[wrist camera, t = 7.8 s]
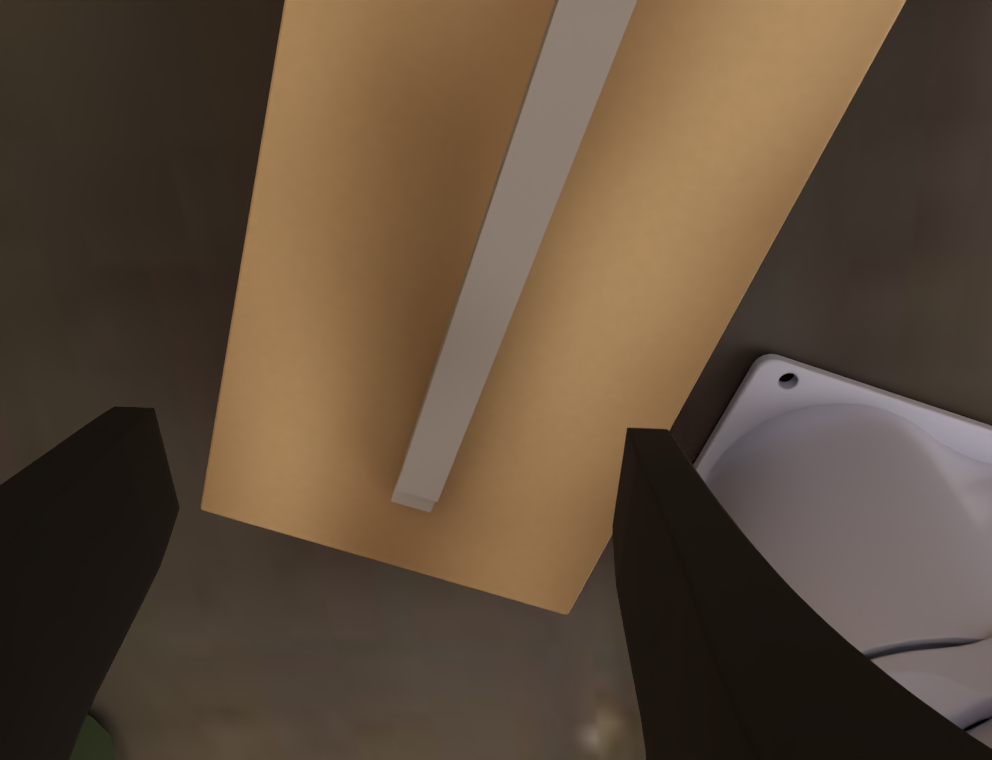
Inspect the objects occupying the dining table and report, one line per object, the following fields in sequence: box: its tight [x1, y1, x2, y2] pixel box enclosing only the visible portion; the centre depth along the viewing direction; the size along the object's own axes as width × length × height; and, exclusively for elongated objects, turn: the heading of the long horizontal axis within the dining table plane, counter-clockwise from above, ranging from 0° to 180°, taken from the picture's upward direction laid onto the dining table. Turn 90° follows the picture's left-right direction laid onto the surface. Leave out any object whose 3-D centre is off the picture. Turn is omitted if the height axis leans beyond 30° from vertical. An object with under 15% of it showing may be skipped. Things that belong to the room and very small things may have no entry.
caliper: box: [391, 0, 637, 513], centre depth 12 cm, size 20×1×6 cm, turn 163°
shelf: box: [201, 0, 906, 615], centre depth 17 cm, size 10×26×5 cm, turn 162°
